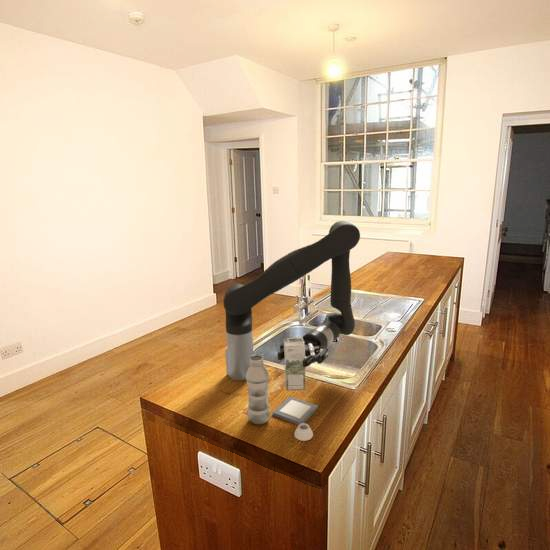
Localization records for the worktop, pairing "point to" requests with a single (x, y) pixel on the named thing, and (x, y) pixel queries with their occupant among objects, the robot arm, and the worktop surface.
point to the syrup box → (294, 363)
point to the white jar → (303, 432)
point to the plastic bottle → (257, 391)
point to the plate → (295, 410)
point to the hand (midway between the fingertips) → (291, 360)
